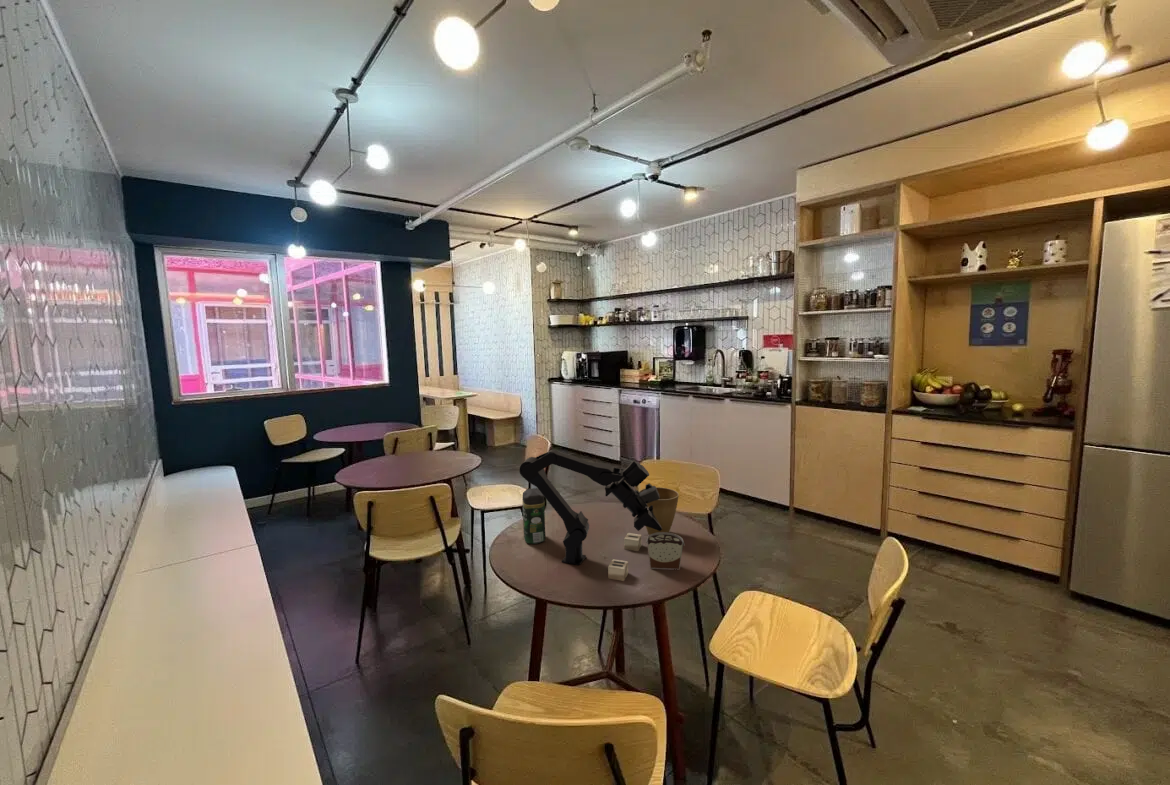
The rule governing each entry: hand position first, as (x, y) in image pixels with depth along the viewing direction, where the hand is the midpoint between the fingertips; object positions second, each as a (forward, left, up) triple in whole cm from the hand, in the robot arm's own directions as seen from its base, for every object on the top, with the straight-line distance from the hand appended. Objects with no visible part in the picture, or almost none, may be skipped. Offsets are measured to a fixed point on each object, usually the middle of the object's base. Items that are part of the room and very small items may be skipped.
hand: (661, 529), depth 152 cm
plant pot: (+23, +6, -12) cm, 27 cm away
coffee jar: (+3, +48, -12) cm, 50 cm away
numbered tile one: (+9, +12, -12) cm, 19 cm away
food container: (0, -1, -12) cm, 12 cm away
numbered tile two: (-12, +11, -12) cm, 20 cm away
